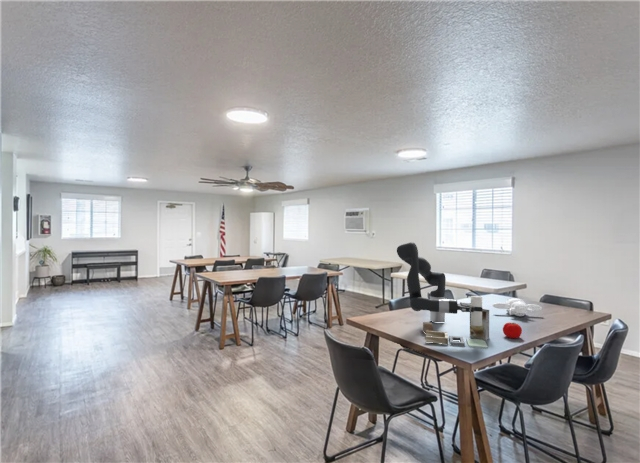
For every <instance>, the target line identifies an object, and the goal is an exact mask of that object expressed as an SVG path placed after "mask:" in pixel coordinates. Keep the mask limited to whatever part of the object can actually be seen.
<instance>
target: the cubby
mask: <svg viewBox="0 0 640 463" xmlns="http://www.w3.org/2000/svg"><path fill="white" fill-rule="evenodd" d="M431 336H432V337H431ZM426 342H433V343H442V344H448V345H449V338H448V332H447V331H438V330H437V331H436V330H435V331H434V330H433V331H426V334H425V343H426Z"/></svg>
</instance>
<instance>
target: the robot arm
mask: <svg viewBox="0 0 640 463" xmlns="http://www.w3.org/2000/svg"><path fill="white" fill-rule="evenodd" d="M418 250H419V249H418V247H417V244H416V243H415V242H412V241H411V242H408V243H407V242H406V243H403V244H401V245H398V246H397V248H396V253H397V256H398V257H399V259H401V260H402V261H403V262H404V263H406V264H408V265H409V266H410V268H409V271H408V272H407V273H408V274H407V276H406V284H407V290H408V293H409V294H408V295H409V305H410V308H411V310H413V311H414V312H419V311H429V314H430V315H429V318H430V320H431V321H433V322H445V319H446V318H445V316H446V314H454V315H455V314H458V311H460V312H461V313H470V312H474V311H481V312H482V311H483V309H484V308H483V306H482V307H474V306H471V302H461V301H460V302H459V303H458V300H457V299H453V298H451V299H450V298H448V299H447V298H445V296H446V295H445V293H446V282H447V280H446V274H445V273H444V272H437V271H432V266H431V263H430V262H429V261H428V260H427V259H425V258H424V257H423V256H419V251H418ZM419 274H420V275H419ZM420 276H422V277H423V279H424V280H425V281H426V283H427V284H428V285H429V286H433V287H434V286H435V287H437V288H436V289H435V290H432V291H430V293H429V298H427V297H422V296H423V295H422V292H421V290H422V289H421V287H422V286H421V283H420V282H421V281H420ZM470 309H471V310H470ZM430 320H429V321H430ZM445 323H446V322H445Z"/></svg>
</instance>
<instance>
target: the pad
mask: <svg viewBox="0 0 640 463" xmlns="http://www.w3.org/2000/svg"><path fill="white" fill-rule="evenodd" d="M466 343H467V345H468V347H470V348H480V349H489V348H488V347H489V346H488V344H487V343H486V340H482V339H477V338H466Z"/></svg>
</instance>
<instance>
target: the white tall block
mask: <svg viewBox="0 0 640 463" xmlns="http://www.w3.org/2000/svg"><path fill="white" fill-rule="evenodd" d="M470 303H471V306H474V307H482V308H483V296H480V295H470ZM471 325H474V326H482V312H481V311H474V312H471Z"/></svg>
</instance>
